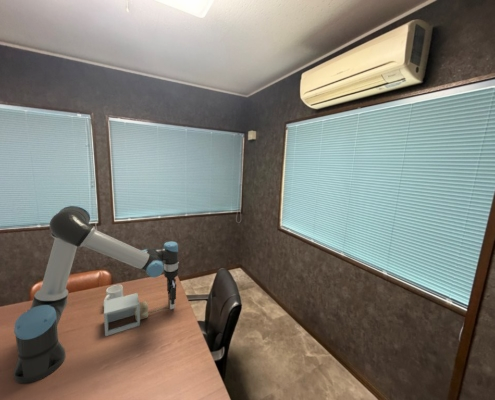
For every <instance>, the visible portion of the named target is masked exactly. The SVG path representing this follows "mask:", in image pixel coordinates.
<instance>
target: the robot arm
mask: <svg viewBox="0 0 495 400" xmlns="http://www.w3.org/2000/svg"><path fill="white" fill-rule="evenodd" d="M90 221H91V215H90V213H89V211H88V210H87V209H86V208H85V207H83V206H80V205H69V206H65V207H64V208H61V209H60V211H59V212H58V213H56V214H55V215H53V216H52V217H51V219H50V222H49V230H50V232H51V234H50V237H52V238H53V239H54V240H53V243H52V244H53V245H52V248H51V250H50V255H49V257H48V262H47V265H46V269H45V273H44V275H43V276H44V277H43V279H42V283H41V287H40V289H38V290H37V291H36V292H35V293H34V297H33V299H32V303H31V306H30V309H27V311H25V312H23V313H22V314H20V315H19V316H18V317H17V319H16V321H14V328H13V329H14V335H15V341H16V349H17V354H18V359H17V360H16V365H15V366H14V370H13V377H14V380H15V382H17V383H18V384H31V383H34V382H37V381H40V380H42V379H44V378H45V377H47V376H49V375H51V374H52V373H53V372H55V371H56V370H57V369H59V367H60V366H61V365H62V364H63V363H64V361H65V358H66V350H65V348H64V346H63V345H62V343H61V342H60V340H59V334H58V333H59V332H58V325H59V322H60V319H61V317H62V315H63V313H64V310H65V309H66V306H67V303H68V296H69V289H67V286H68V281H69V278H70V274H71V270H72V267H73V262H74V260H75V256H76V252H77V249H78V248H81V247H84V248H87V249H89V250H92V251H95V252H97V253H99V254H102V255H105V256H107V257H109V258H112V259H115V260H118V261H119V262H121V263H124V264H127V265H129V266H131V267H133V268H137V269H139V270H141V271H144V272H146V274H147V275H148V276H149V277H150V278H158V277H159V276H161V275H162V274H163V276H164V277H165V278H166V287H167V288H166V289H167V295H168V294H169V293H170V298H169V300H170V309H169V310H173V309H176V299H177V284H176V282H177V281H176V277H178V275H179V264H180V261H179V244H178V243H177V242H176V241H167V242H165V243H163V246H162V247H154V248H146V249H139V248H136V247H134V246H132V245H130V244H128V243H126V242H124V241H121V240H119V239H116V238H115V237H112V236H110V235H108V234H106V233H104V232H101V231H99V230H97V229H96V227H95V226H94V225H92V224H90ZM163 272H164V273H163Z"/></svg>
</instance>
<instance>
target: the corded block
mask: <svg viewBox="0 0 495 400" xmlns="http://www.w3.org/2000/svg"><path fill="white" fill-rule="evenodd" d="M167 296H168V297H167V306H163V307H160V308H157V309H153V310H151V311H149V306H148V302H147V300H146V301H141V302H139V306H140V321H141V320H143V319H147V318H149V315H150V314H152V313H156V312H159V311H162V310H166V309H169V310H171V309H170V300H169V298H170V293H169V294H168V293H167ZM134 317H135V322H137V307H135V315H134Z"/></svg>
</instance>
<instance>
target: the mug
mask: <svg viewBox="0 0 495 400" xmlns="http://www.w3.org/2000/svg"><path fill="white" fill-rule="evenodd" d="M105 291H106V292H105V293H106V294H105V295H106V296H105V297H104V298H103V299H104V300H103V307H104V303H105V301H106V300H110V299H114V298H118V297H123V296H124V287H123V285H122V284H114V285H111V286H109V287H107V289H106V290H105Z"/></svg>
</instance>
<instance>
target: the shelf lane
mask: <svg viewBox="0 0 495 400" xmlns="http://www.w3.org/2000/svg"><path fill="white" fill-rule="evenodd" d="M139 303H140V299H139V295H138V292H136V293H132V294H128V295H127V294H126V295H123V297H118V298H114V299H110V300H106V301H105V303H104V306H103V318H104V319H103V321H104V322H103V323H104V335H105V337H107V336H110V335H114V334H117V333H120V332H123V331H126V330H130V329H133V328H137V327H140V326H141V320H140V306H139ZM135 307H137V321H135V322H130V323H128V324H125V325H121V326H118V327H115V328H112V329H109V323H112V322H116V321H119V320H122V319H125V318H130V317H133V316H135Z"/></svg>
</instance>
